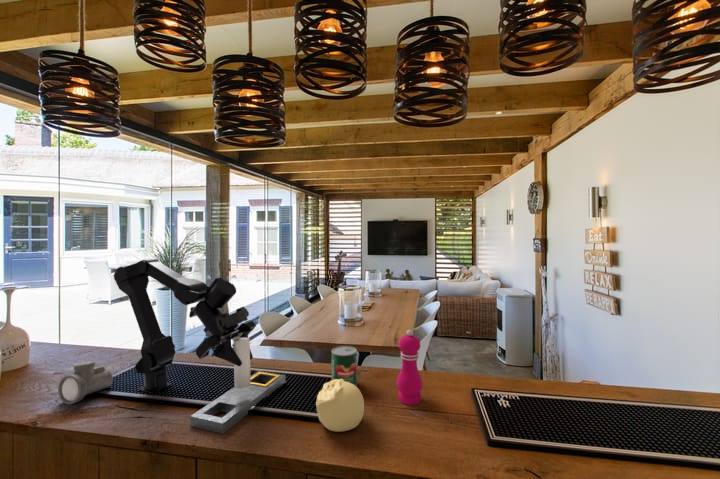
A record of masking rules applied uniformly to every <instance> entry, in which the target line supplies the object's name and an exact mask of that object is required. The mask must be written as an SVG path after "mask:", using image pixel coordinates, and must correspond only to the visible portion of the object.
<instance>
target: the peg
mask: <svg viewBox="0 0 720 479" xmlns="http://www.w3.org/2000/svg"><path fill="white" fill-rule="evenodd" d="M250 340H251V339H250V338H249V337H248V338H238V339H235V340H234V341H233V344H234V347H233V350H234V351H235V353H236V354H237V356H238V357H239V359H240V360H241V362H242V365H241V366H237V365H235V364H233V372H234V373H233V380H234V387H235V388H246V387H248V386H250V384H251V380H250V376H251V360H250V350H251V343H250V342H251V341H250Z"/></svg>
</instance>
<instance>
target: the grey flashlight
mask: <svg viewBox="0 0 720 479" xmlns="http://www.w3.org/2000/svg"><path fill="white" fill-rule="evenodd" d="M72 367H73V372H74V373H71V374H67V375H65V376H63V377H62V378H61V379H60V380H59V384H58V388H57V392H58V396H59V399H60V400H61V402H62V403H63V404H64V405H69V406H70V405H74V404H76V403H79V402H80V401H82V400H83V399H84V398H85V396H87V395H89V394H93V393H96V392H99V391H102V390H104V389H107V388H109V387H110V386H111V385H112V384H113V381H114V376H113V373H112V372H113V371H111V370H110V369H109V368H106V367H105V365H102V364H100V365H96V361H95V360H87V361H82V362H77V363H75V364H73V366H72Z"/></svg>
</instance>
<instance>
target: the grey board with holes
mask: <svg viewBox="0 0 720 479" xmlns="http://www.w3.org/2000/svg"><path fill="white" fill-rule="evenodd" d="M250 380H251V384H250V386H248V387H246V388H235V386H234V387H232V388H231V389H229V390H228V391H226V392H225V393H223V394H221V395H220V396H219V397H217V398H216V399H213V400H212V401H211V402H209V403H208V404H207V405H205V406H204V407H202V408H200V409H198V410H197V411H196V412H194V413H193V414H191V415H190V416H189V419H190V423H189V424H190V427H193V428H198V429H202V430H204V431H205V430H206V431H210V432H215V433H218V434H225V433H227V431H229V430H230V429H231V428H232V427H233V426H235V425H236V424H238V422H240V421H241V420H242V419H243V418H244V417H246V416H247V415H248V414H249V413H248V411H249V409H250V408H251V407H252V406H254V405H255V404H256V403H258V402H259V401H261V400H262V399H263V398H265V397H266V396H268V395H269V394H271V393H272V392H273V391H275V390H276V389H277V388H279V387H280V386H281V387H283V386H284V385H285V384H286V382H287V381H286V374H278V373H273V372H268V371H267V372H266V371H261V370H257V371H256V372H255V373H254V374H252V375H250ZM259 382H260V383H259ZM263 382H265V383H263ZM284 383H285V384H284ZM283 384H284V385H283ZM282 385H283V386H282ZM281 387H280V388H281ZM280 388H279V389H280ZM276 391H277V390H276ZM276 391H275V392H276ZM271 395H272V394H271ZM219 412H221V413H226V414H225V415H223V416H222V417H221V416H220V417H219V416H216V414H218V413H219Z"/></svg>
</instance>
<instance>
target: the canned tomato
mask: <svg viewBox="0 0 720 479" xmlns="http://www.w3.org/2000/svg"><path fill="white" fill-rule="evenodd" d="M357 353H358V350H357V348H356V347H355V346H350V345H340V346H336V347H334V348H332V349H331V381H332V380H334V379H343V380H344V381H345V382H349V383H352V384H353V385H355V386H356V387H357V386H358V377H357V376H358V373H357V372H358V361H357V360H358V358H357V356H358V354H357Z"/></svg>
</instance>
